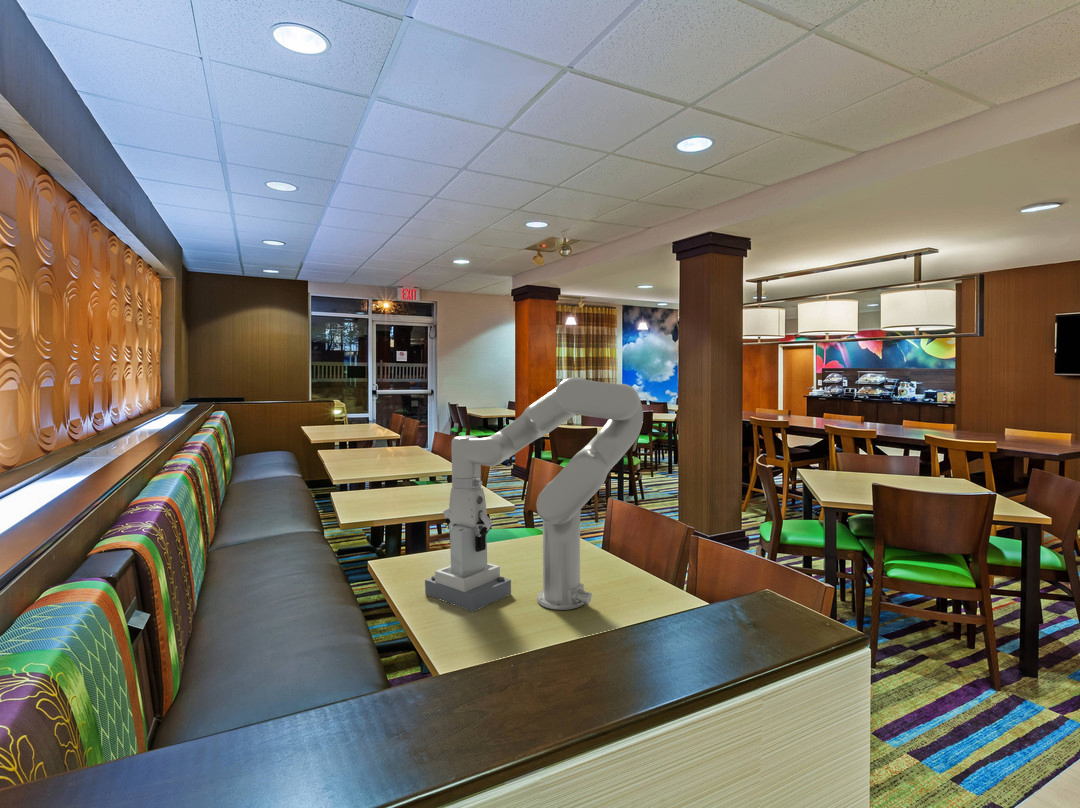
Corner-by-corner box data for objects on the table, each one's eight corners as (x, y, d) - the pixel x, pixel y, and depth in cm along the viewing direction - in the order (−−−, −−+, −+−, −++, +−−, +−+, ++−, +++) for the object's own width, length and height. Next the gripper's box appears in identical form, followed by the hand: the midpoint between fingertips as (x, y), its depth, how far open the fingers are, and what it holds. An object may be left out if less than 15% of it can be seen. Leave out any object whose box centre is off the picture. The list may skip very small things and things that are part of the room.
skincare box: (475, 573, 154) (474, 519, 153) (488, 579, 150) (488, 523, 149) (449, 580, 148) (448, 525, 148) (462, 587, 144) (461, 529, 143)
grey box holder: (511, 594, 149) (510, 568, 149) (473, 612, 138) (472, 584, 138) (463, 579, 161) (463, 555, 160) (425, 594, 150) (424, 568, 149)
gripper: (500, 484, 145) (501, 549, 146) (454, 477, 156) (455, 538, 157) (479, 489, 140) (480, 557, 140) (433, 481, 150) (434, 544, 151)
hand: (467, 547), depth 149 cm, fingers open, 9 cm apart
